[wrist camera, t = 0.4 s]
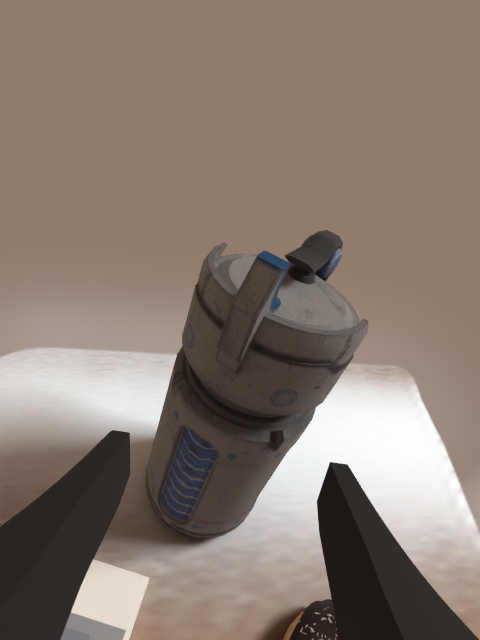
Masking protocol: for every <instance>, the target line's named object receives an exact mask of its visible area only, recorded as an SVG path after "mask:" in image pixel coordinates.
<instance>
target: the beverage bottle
mask: <svg viewBox="0 0 480 640" xmlns="http://www.w3.org/2000/svg"><path fill="white" fill-rule="evenodd" d="M342 245H343V242H342V241H341V239H340V237H339V236H337V235H336V234H333V233H332V232H329V231H327V230H325V231H319V232H317V233H315V234H314V235H312V236H310V237H309V238H307V239H306V240H305V241H304V243H303V244H302V246H301V247H300V248H298V249H296V250H294V251H292V252H290V253H289V254H287V255H285V257H286V259H287V260H288V261H289V262H287V261H285V260H283V259H281V258H279V257H277V256H275V255H273V254H271V253H269V252H267V251H263V252H261V253H260V254H258V255H253V254H234V255H227V256H223V257H221V254H222V252H223V251H224V249H225V248H226V246H227V244H226V243H222V244H220V245H218V246H216V247H214V248H213V249H212V250H211V252H210V253H209V254H208V255H207V257H206V258H205V259H204V261H203V265H202V268H201V272H200V275H199V279H198V283H197V285H196V286H195V290H194V293H193V297H192V301H191V305H190V309H189V312H188V316H187V320H186V323H185V327H184V331H183V335H182V339H183V341H182V344H183V346H182V348H181V349H180V351H179V352H178V354H177V357H176V361H175V364H174V368H173V372H172V376H171V379H170V383H169V387H168V391H167V394H166V398H165V402H164V406H163V410H162V413H161V417H160V421H159V425H158V429H157V432H156V436H155V440H154V444H153V448H152V451H151V455H150V459H149V463H148V467H147V471H146V487H147V493H148V496H149V499H150V502H151V504H152V506H153V508H154V509H155V511H156V513H157V514H158V516H159V517H160V518H161V519H162V520H163V521H164V522H165V523H166V524H167V525H169V526H170V527H171V528H173V529H174V530H176V531H177V532H180V533H182V534H184V535H187V536H190V537H196V538H215V537H218V536H222V535H225V534H227V533H229V532H231V531H232V530H234V529H235V528H237V527H238V526H239V525H240V524H241V523H242V522H243V521H244V520H245V518H246V517H247V516H248V514H249V513H250V511H251V510H252V508H253V507H254V504H255V502H256V500H257V497H258V496H259V494H260V492H261V491H262V489H263V488H264V486H265V485H266V483H267V482H268V480H269V479H270V477H271V476H272V474H273V473H274V471H275V470H276V468H277V467H278V465H279V464H280V462H281V461H282V459H283V458H284V456H285V455H286V453H287V452H288V451H289V449H290V448H291V447H292V446H293V445H294V444H295V443H296V442H297V440H298V439H299V438H300V436H301V435H302V433H303V432H304V430H305V429H306V427H307V426H308V424H309V423H310V421H311V420H312V418H313V415H314V412H315V407H317V406H318V405H319V404H321V403H322V402H323V401H324V399H325V398H326V397H327V395H328V394H329V393H330V391H331V390H332V388H333V387H334V385H335V384H336V382H337V381H338V379H339V378H340V376H341V375H342V373H343V372H344V370H345V369H346V367H347V366H348V364H349V363H350V361H351V360H352V358H353V354H354V352H355V351H356V349H357V348H358V346H359V345H360V343H361V342H362V340H363V339H364V337H365V335H366V334H367V329H368V321H367V320H365V319H364V318H363V319H362V320H361V321H360V320H359V317H358V316H357V314H356V312H355V310H354V309H353V307H352V306H351V304H350V303H349V302H348V301H347V300H346V299H345V297H344V296H343V295H342V294H341V293H339V292H338V291H337V290H336V289H335V288H333V287H332V286H331V285H330V284H328V283H327V282H326V281H327V279H328V277H329V275H331V274H332V273H333V271H334V270H335V268H336V266H337V265H338V263H339V261H340V259H341V251H342ZM290 262H291V263H290ZM292 263H293V264H292Z"/></svg>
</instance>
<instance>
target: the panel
mask: <svg viewBox="0 0 480 640" xmlns="http://www.w3.org/2000/svg"><path fill="white" fill-rule="evenodd" d="M148 581H149V578H148V577H145V576H142V575H139V574H136V573H133V572H130V571H127V570H124V569H121V568H118V567H115V566H112V565H109V564H106V563H103V562H100V561H97V560H94V559H93V561H92V563H91V565H90V567H89V569H88V571H87V573H86V576H85V578H84V580H83V583H82V585H81V587H80V590H79V592H78V595H77V597H76V600H75V603H74V605H73V608H72V611H71V613H70V616H69V618H68V621H67V624H66V626H65V627H67V628H70V629H73V630H76V631H79V632H82V633H85V634H88V635H90V638H89V640H129V638H130V635H131V632H132V629H133V626H134V623H135V620H136V617H137V614H138V611H139V608H140V605H141V602H142V599H143V596H144V593H145V590H146V587H147V584H148Z"/></svg>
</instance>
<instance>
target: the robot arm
mask: <svg viewBox="0 0 480 640" xmlns="http://www.w3.org/2000/svg"><path fill="white" fill-rule="evenodd" d="M129 475H130V433H128V432H121V431H114V430H112V431H111V432H109V433H108V434H107V435H106V436H105V437H104V438H103V439H102V440H101V441H100V442H99V443H98V444H97V445H96V446H95V447H94V448H93V449H92V450H91V451H90V452H89V453H88V454H87V455H86V456H85V457H84V458H83V459H82V460H81V461H80V462H79V463H78V464H76V465H75V466H74V467H73V468H72V469H71V470H70V471H69V472H68V473H67V474H65V475H64V476H63V477H62V478H61V479H60V480H59V481H58V482H56V483H55V484H54V485H53V486H52V487H50V488H49V489H48V490H47V491H46V492H44V493H43V494H42V495H41V496H40V497H38V498H37V499H36V500H35V501H34V502H32V503H31V504H30V505H28V506H27V507H26V508H25V509H23V510H22V511H21V512H19V513H18V514H17V515H15V516H14V517H13V518H11V519H10V520H9V521H7V522H6V523H4V524H3V525H2V526H0V640H61V637H62V635H63V632H64V629H65V626H66V624H67V621H68V618H69V616H70V613H71V611H72V608H73V605H74V603H75V600H76V597H77V595H78V592H79V590H80V587H81V585H82V583H83V580H84V578H85V576H86V573H87V571H88V569H89V567H90V565H91V563H92V561H93V559H94V556H95V554H96V552H97V550H98V548H99V546H100V544H101V542H102V540H103V538H104V535H105V533H106V531H107V529H108V527H109V525H110V523H111V521H112V519H113V516H114V514H115V512H116V510H117V508H118V506H119V504H120V501H121V498H122V495H123V493H124V490H125V487H126V484H127V481H128V478H129ZM317 507H318V521H319V532H320V538H321V544H322V549H323V555H324V560H325V565H326V571H327V576H328V581H329V586H330V592H331V597H332V602H333V608H334V614H335V620H336V627H337V636H338V640H479V639H478V638H477V637H476V636H475V635H474V634H473V633H472V631H471V630H470V629H469V628H468V627H467V626H466V625H465V624H464V623H463V622H462V621H461V619H460V618H459V617H458V616H457V615H456V614H455V613H454V612H453V611H452V610H451V609H450V608H449V606H448V605H447V604H446V603H445V602H444V601H443V599H442V598H441V597H440V596H439V595H438V594H437V592H436V591H435V590H434V589H433V588H432V586H431V585H430V584H429V583H428V582H427V580H426V579H425V578H424V577H423V575H422V574H421V573H420V572H419V570H418V569H417V568H416V566H415V565H414V564H413V563H412V561H411V560H410V559H409V557H408V556H407V555H406V553H405V552H404V550H403V549H402V548H401V546H400V545H399V544H398V542H397V541H396V539H395V538H394V537H393V535H392V534H391V532H390V531H389V529H388V528H387V526H386V525H385V523H384V522H383V520H382V519H381V517H380V516H379V514H378V513H377V511H376V510H375V508H374V507H373V505H372V504H371V502H370V500H369V499H368V497H367V496H366V494H365V492H364V491H363V489H362V488H361V486H360V484H359V483H358V481H357V479H356V478H355V476H354V474H353V473H352V471H351V469H350V468H349V466H348V465H346V464H339V463H332V462H330V464H329V467H328V470H327V473H326V476H325V479H324V482H323V485H322V488H321V491H320V494H319V497H318V500H317Z"/></svg>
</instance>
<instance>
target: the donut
mask: <svg viewBox="0 0 480 640" xmlns="http://www.w3.org/2000/svg"><path fill="white" fill-rule="evenodd" d="M283 640H338V636H337V627H336V620H335V614H334V608H333V602H332V600H330V599H327V600H324V601H315V602H313V603H311V604H310V605H309V606H308V607H307V608H306V609H305V610H304V611H302V612H301V613H300V614H299V615H298V617H297V618H296V619H295V620H294V621H293V622H292V623H291V625H290V626H289V628H288V630H287V632H286V634H285V636H284V638H283Z"/></svg>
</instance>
